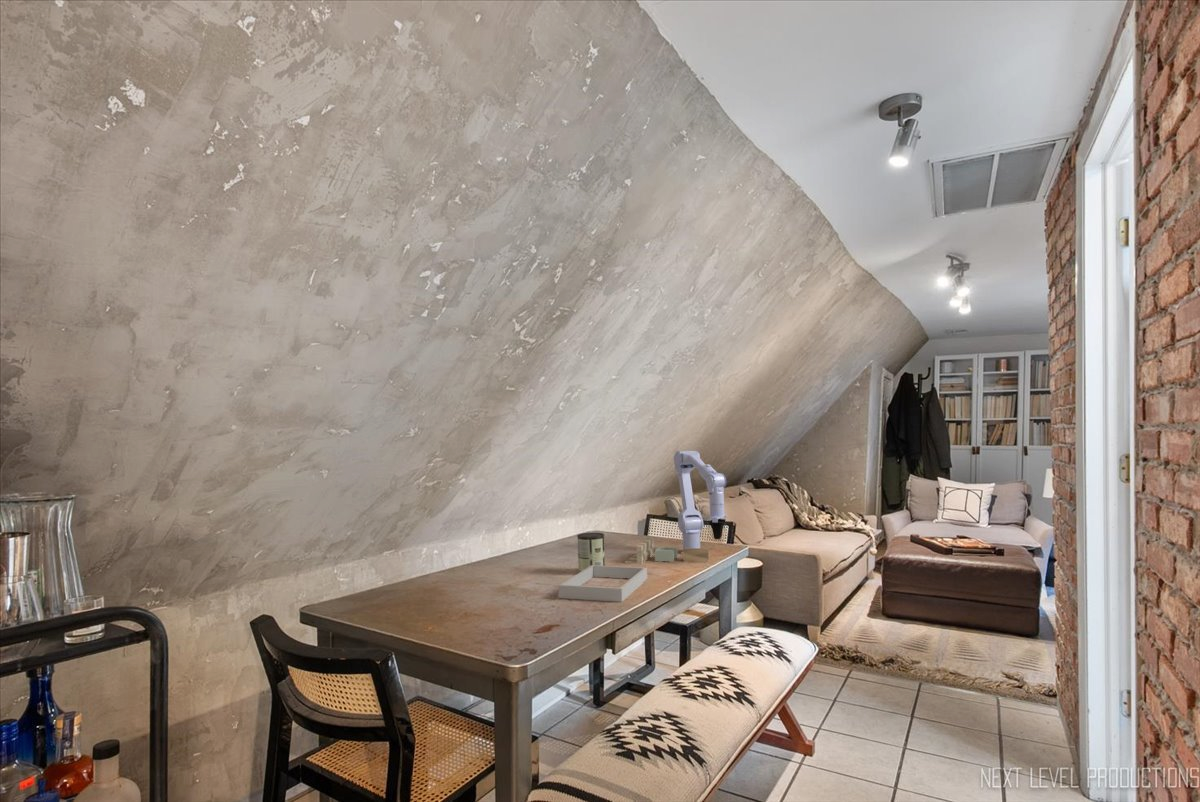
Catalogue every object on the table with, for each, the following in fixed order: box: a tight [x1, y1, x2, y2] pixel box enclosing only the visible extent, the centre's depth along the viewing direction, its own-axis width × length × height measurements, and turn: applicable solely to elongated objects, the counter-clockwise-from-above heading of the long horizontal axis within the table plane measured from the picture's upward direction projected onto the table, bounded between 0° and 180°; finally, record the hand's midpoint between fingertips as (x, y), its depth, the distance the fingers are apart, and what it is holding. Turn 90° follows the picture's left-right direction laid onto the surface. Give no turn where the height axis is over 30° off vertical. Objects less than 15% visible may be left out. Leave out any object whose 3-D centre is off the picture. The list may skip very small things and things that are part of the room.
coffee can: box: [576, 532, 606, 573], centre depth 240 cm, size 10×10×14 cm
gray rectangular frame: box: [558, 565, 648, 603], centre depth 213 cm, size 32×21×4 cm, turn 162°
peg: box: [682, 547, 711, 563], centre depth 255 cm, size 4×10×5 cm, turn 74°
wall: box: [624, 537, 655, 564], centre depth 262 cm, size 20×7×7 cm, turn 162°
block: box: [654, 546, 679, 563], centre depth 259 cm, size 9×8×4 cm
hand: (718, 538), depth 252 cm, fingers open, 3 cm apart
